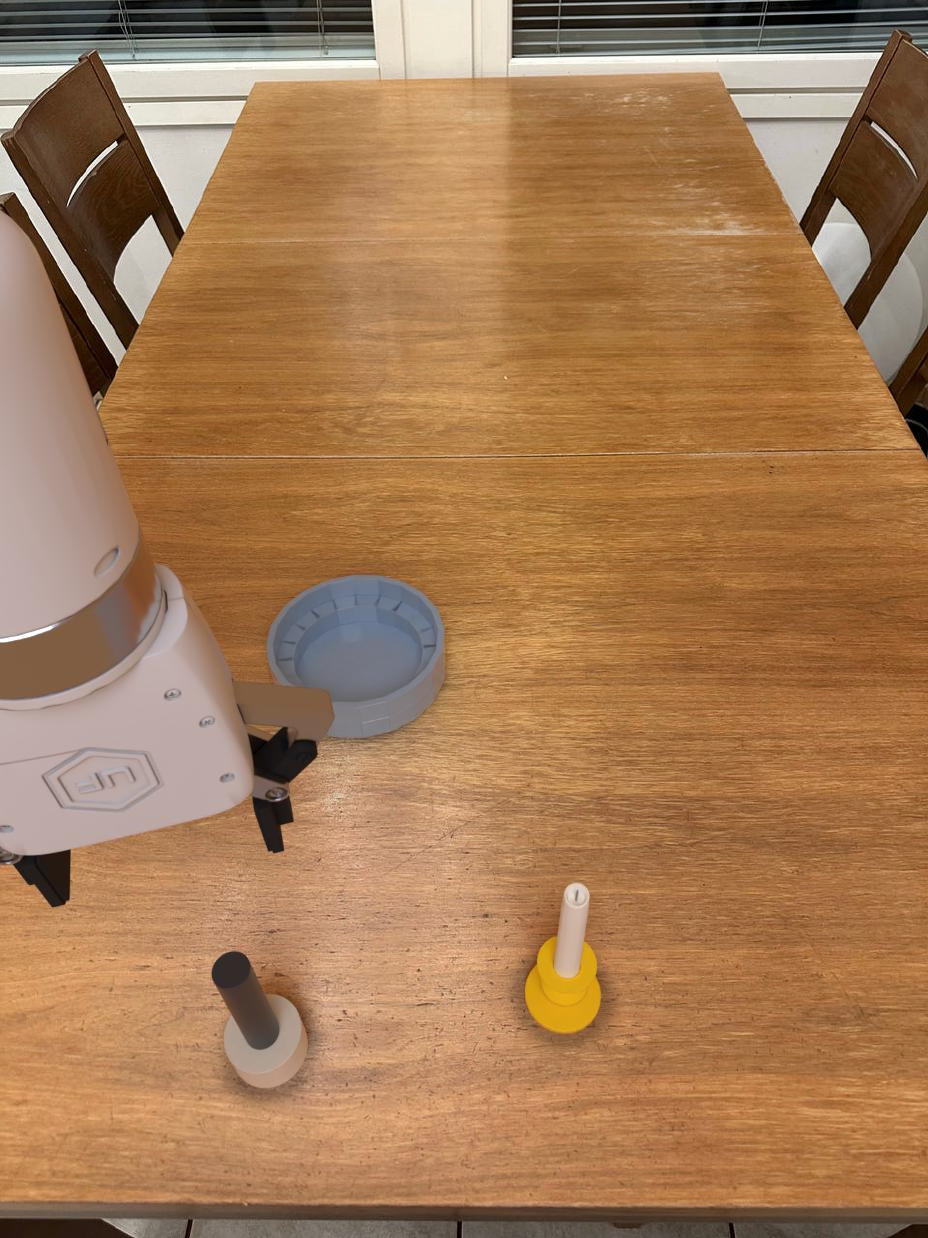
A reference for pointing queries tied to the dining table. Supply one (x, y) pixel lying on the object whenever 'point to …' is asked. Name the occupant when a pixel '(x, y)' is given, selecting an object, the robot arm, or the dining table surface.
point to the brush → (258, 1025)
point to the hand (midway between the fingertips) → (170, 851)
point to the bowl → (362, 651)
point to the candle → (566, 971)
